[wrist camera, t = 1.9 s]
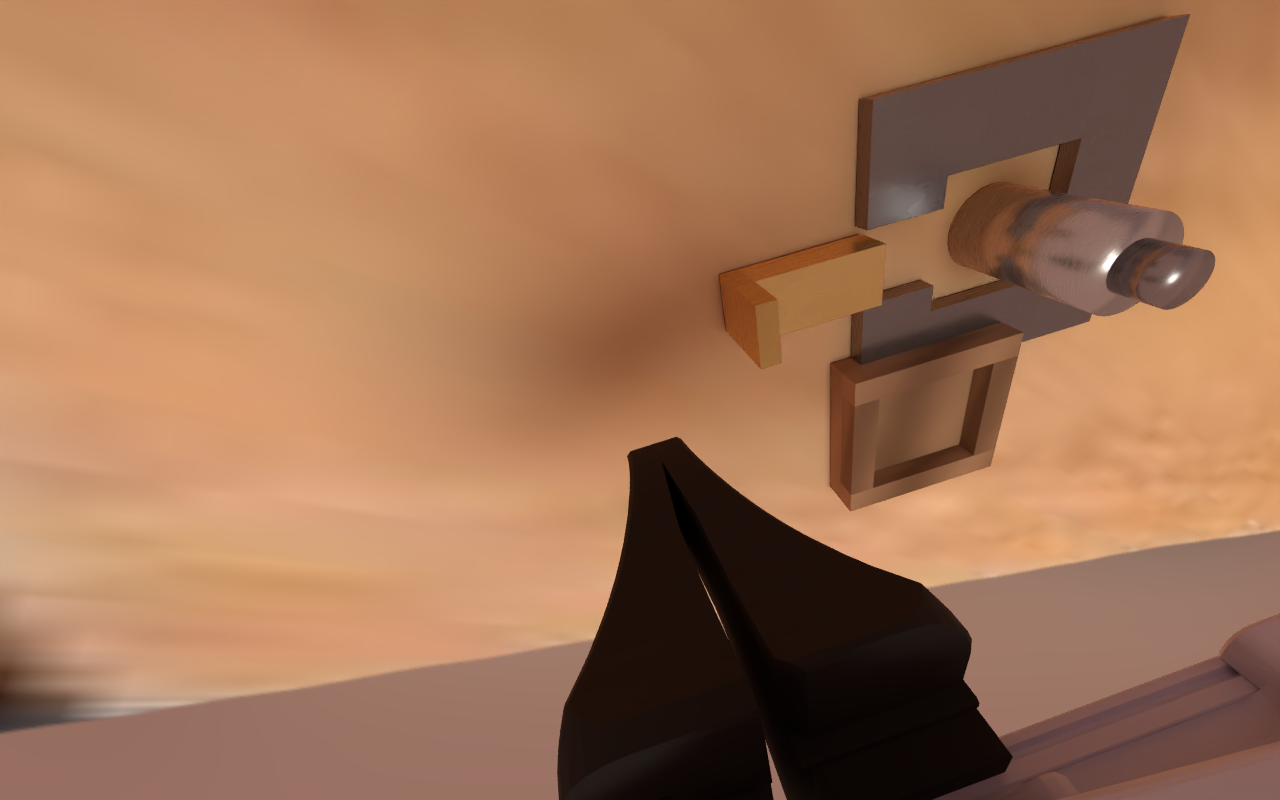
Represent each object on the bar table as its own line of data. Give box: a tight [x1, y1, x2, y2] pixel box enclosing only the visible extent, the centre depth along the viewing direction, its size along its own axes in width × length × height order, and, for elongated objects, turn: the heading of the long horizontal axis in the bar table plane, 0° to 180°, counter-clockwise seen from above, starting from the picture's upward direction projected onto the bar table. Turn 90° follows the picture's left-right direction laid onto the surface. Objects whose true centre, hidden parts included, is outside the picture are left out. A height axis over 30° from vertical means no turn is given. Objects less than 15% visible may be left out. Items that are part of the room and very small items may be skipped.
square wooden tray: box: [830, 322, 1024, 511], centre depth 24 cm, size 8×8×2 cm
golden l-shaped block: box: [719, 234, 886, 369], centre depth 19 cm, size 6×2×4 cm, turn 102°
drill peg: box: [948, 183, 1215, 316], centre depth 18 cm, size 3×3×8 cm
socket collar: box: [851, 14, 1190, 365], centre depth 20 cm, size 12×12×1 cm
